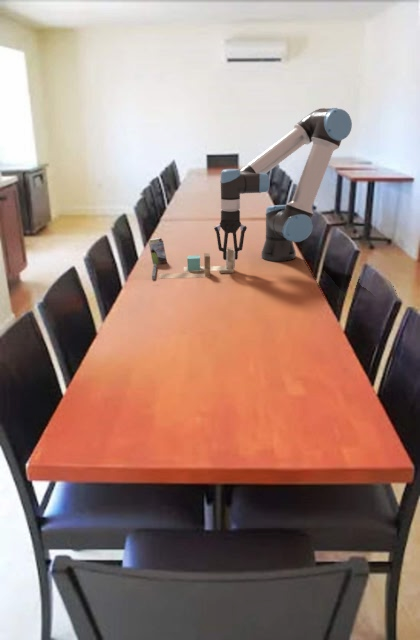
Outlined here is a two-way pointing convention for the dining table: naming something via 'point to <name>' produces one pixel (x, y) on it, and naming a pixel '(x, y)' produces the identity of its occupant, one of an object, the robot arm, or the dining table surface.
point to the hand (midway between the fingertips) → (230, 267)
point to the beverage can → (157, 251)
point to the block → (193, 263)
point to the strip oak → (191, 275)
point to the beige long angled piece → (220, 268)
